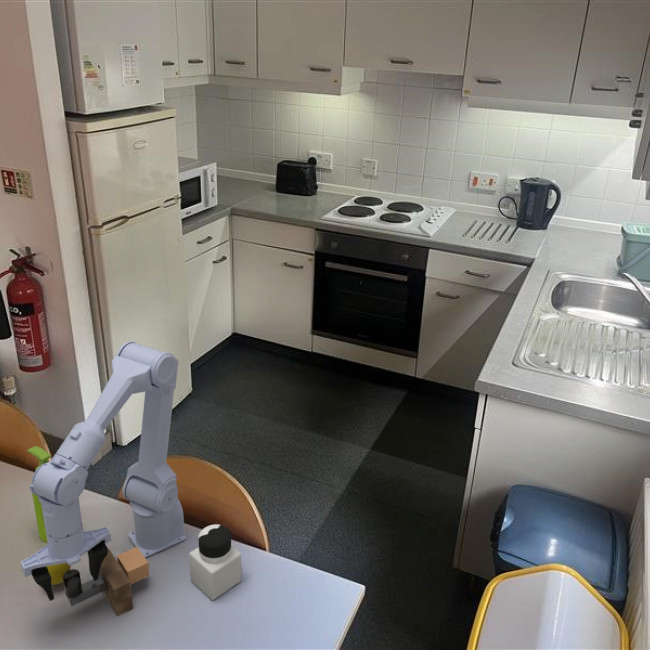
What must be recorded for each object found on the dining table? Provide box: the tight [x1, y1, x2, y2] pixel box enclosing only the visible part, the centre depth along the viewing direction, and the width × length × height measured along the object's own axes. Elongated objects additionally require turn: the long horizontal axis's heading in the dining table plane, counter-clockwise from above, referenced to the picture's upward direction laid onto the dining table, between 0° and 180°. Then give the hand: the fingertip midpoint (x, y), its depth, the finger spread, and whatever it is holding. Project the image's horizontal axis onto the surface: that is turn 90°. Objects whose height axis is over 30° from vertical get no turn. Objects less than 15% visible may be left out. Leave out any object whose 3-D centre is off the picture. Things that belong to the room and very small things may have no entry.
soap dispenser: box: [26, 445, 52, 544], centre depth 129 cm, size 6×7×20 cm
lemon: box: [47, 563, 72, 585], centre depth 120 cm, size 6×6×8 cm
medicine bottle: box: [188, 523, 242, 601], centre depth 121 cm, size 7×7×12 cm
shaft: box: [63, 568, 150, 608], centre depth 116 cm, size 15×3×6 cm, turn 128°
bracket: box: [99, 548, 134, 617], centre depth 118 cm, size 3×10×6 cm, turn 38°
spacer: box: [116, 546, 150, 585], centre depth 120 cm, size 4×5×4 cm
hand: (72, 586), depth 113 cm, fingers open, 7 cm apart
